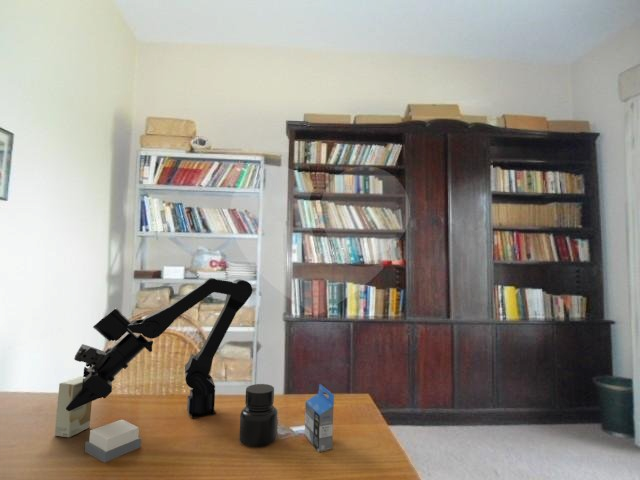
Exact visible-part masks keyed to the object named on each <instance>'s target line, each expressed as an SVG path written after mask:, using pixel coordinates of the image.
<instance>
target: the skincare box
mask: <svg viewBox="0 0 640 480" xmlns="http://www.w3.org/2000/svg"><path fill="white" fill-rule="evenodd" d="M83 378H84V379H85V378H86V377H83V376H77V377H76V378H72V379H71V378H70V379H68V380H66V381H63V382H59V385H58V395H57V406H56V407H57V408H56V416H55V427H54V436H58V437H61V438H62V437H63V438H71V437H72V436H75V435H77V434H79V433H81V432H83V431H84V430H87V429H89V428H90V427H91V415H92V403H93V401H91V402H89V403H87V404H84V405H82V406H80V407H78V408H76V409H73V410H71V411H68V410H66V407H67V406H68V404H69V403H70V402H71V401H72V400H73V398H74V397H75V396H76V395H77V393H78V392H79V391H80V390H81V389H82V384H83Z"/></svg>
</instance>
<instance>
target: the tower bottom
mask: <svg viewBox="0 0 640 480" xmlns="http://www.w3.org/2000/svg"><path fill="white" fill-rule="evenodd" d="M141 446H142V437H139V436H138V439H136V440H134V441H132V442H129V443H127V444H124V445H122V446H119V447H117V448H114V449H112V450H109V451H107V452H106V451H104V450H102V449H100V448H99V447H97V446H95V445H93V444H92V443H90V442H89V440H87V441H85V445H84V452H85V453H87V454H88V455H90V456H91V457H93V458H95V459H97V460H98V461H101V462H102V463H108V462H110V461H112V460H115V459H116V458H119V457H121V456H124V455H125V454H128V453H130V452H132V451H135V450H138V449H140V448H141Z"/></svg>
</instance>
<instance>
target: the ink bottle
mask: <svg viewBox="0 0 640 480" xmlns="http://www.w3.org/2000/svg"><path fill="white" fill-rule="evenodd" d="M274 398H275V386H273V385H270V384H268V383H267V384H265V383H256V384H250V385H248V386H246V389H245V402H244V403H245V407H244V408H243V409H241V411H240V416H239V418H240V419H239V437H238V438H239V442H240V443H241V444H242V445H244V446H247V447H250V448H264V447H267V446H270V445H271V444H273V443H275V441H276V439H277V437H278V423H279V422H278V420H279V417H278V415H279V414H278V410H277V408H276V406H274V404H275V403H274V400H275V399H274Z"/></svg>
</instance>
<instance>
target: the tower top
mask: <svg viewBox="0 0 640 480" xmlns="http://www.w3.org/2000/svg"><path fill="white" fill-rule="evenodd" d="M139 429H140V427H139V426H136V425H134V424H132V423H130V422H128V421H126V420H124V419H120V420H117V421H113V422H111V423H106V424H104V425H102V426H99V427H96V428H93V429H90V430H89V440H88V441H89V442H90V443H92V444H93V445H95V446H97V447H99V448H100V449H102V450H104V451H106V452H107V451H109V450H112V449H114V448H117V447H119V446H122V445H124V444H127V443H129V442H132V441H134V440H136V439H138V437H139V431H140V430H139Z"/></svg>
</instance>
